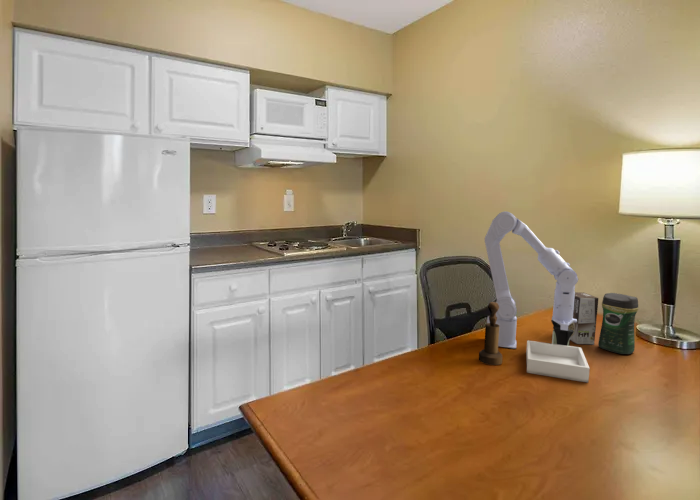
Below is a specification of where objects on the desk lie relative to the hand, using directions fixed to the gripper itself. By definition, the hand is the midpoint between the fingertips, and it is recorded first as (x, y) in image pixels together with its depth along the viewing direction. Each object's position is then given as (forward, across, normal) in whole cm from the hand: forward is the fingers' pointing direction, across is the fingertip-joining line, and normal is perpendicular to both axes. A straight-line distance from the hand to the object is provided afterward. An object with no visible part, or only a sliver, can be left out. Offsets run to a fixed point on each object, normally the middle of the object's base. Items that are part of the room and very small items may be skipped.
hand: (560, 345), depth 133 cm
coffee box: (+2, +15, -7) cm, 17 cm away
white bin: (+2, -15, +2) cm, 15 cm away
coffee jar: (+2, +9, -17) cm, 19 cm away
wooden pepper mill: (+2, -19, +20) cm, 28 cm away
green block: (+2, 0, 0) cm, 2 cm away
